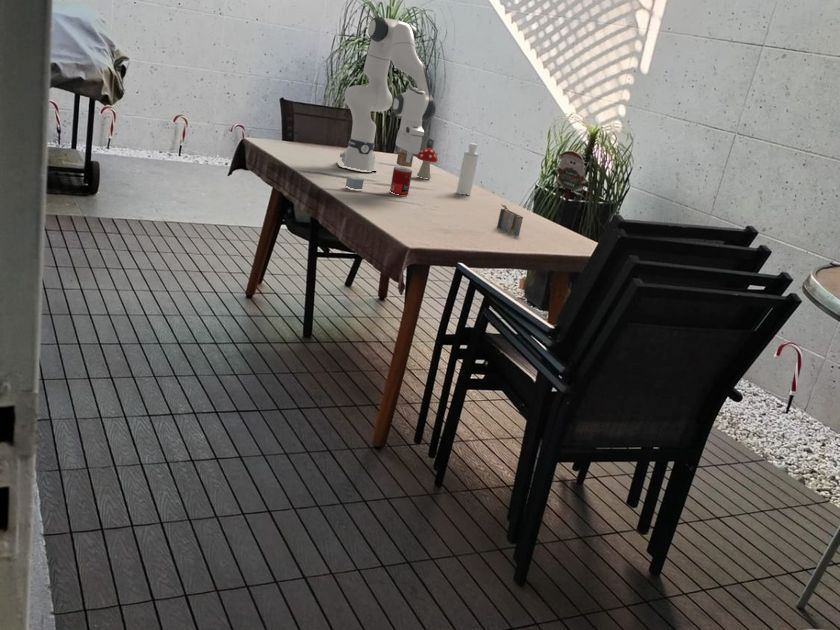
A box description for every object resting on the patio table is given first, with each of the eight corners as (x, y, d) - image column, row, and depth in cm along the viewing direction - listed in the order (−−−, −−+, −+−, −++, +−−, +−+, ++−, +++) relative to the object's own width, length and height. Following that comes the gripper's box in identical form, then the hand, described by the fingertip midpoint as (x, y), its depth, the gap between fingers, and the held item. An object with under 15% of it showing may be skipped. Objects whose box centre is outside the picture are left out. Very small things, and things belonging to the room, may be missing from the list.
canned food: (404, 197, 343) (408, 171, 339) (386, 192, 345) (391, 167, 341) (410, 195, 350) (414, 169, 346) (393, 190, 352) (397, 165, 348)
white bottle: (469, 196, 375) (480, 142, 367) (455, 193, 376) (466, 139, 368) (471, 194, 381) (482, 141, 373) (457, 191, 382) (468, 138, 374)
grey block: (345, 188, 338) (347, 176, 336) (355, 188, 341) (357, 177, 339) (351, 191, 334) (353, 179, 332) (361, 191, 337) (363, 179, 336)
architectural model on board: (495, 227, 319) (501, 203, 316) (502, 228, 321) (507, 204, 318) (512, 235, 310) (518, 211, 307) (518, 236, 312) (524, 211, 309)
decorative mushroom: (434, 179, 404) (439, 149, 399) (432, 181, 396) (438, 151, 391) (414, 175, 404) (419, 145, 399) (412, 177, 396) (418, 147, 391)
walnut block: (396, 163, 345) (398, 151, 343) (407, 164, 347) (409, 153, 345) (400, 165, 340) (402, 153, 339) (411, 167, 342) (413, 155, 341)
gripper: (395, 123, 346) (389, 155, 351) (411, 130, 329) (405, 164, 333) (408, 125, 349) (403, 157, 353) (426, 132, 331) (419, 166, 335)
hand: (404, 160), depth 343 cm, fingers closed on walnut block, 5 cm apart
